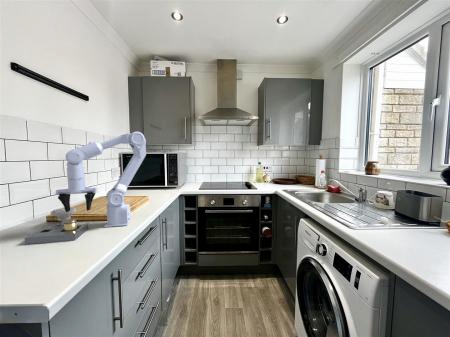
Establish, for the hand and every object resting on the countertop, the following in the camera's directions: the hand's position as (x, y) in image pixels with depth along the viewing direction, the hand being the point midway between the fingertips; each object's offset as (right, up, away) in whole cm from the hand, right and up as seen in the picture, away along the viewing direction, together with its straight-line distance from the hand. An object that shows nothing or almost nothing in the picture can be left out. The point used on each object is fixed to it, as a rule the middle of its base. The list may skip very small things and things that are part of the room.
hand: (78, 210), depth 87 cm
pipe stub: (0, -9, -4) cm, 10 cm away
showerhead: (-13, -8, +9) cm, 18 cm away
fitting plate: (-4, -9, -5) cm, 11 cm away
